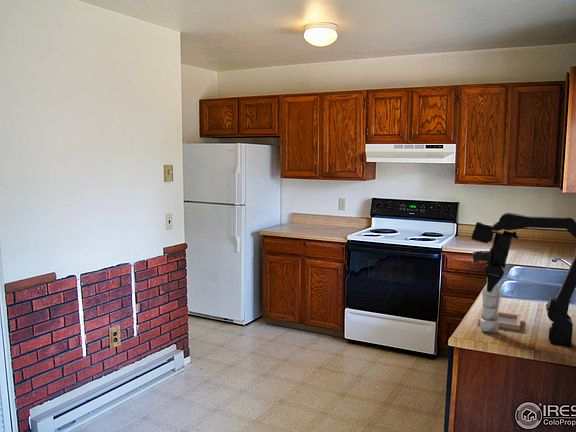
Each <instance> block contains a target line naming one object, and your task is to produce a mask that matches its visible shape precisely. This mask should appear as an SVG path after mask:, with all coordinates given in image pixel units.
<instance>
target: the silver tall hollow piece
mask: <svg viewBox="0 0 576 432" xmlns="http://www.w3.org/2000/svg"><path fill="white" fill-rule="evenodd" d="M498 284H499V282H498V283H497V284H496V285H495V287H494V288H493V289H492V290H491V291H490V292H488V291H487V284H486V285H485V286H484V287H483V288H482V290H481V291H482V292H481V294H482V309H483V310H482V316H481V320H480V325H479V328H480V330H481V331H482V332H484V333H491V334H493V333H494V334H495V333H497V332H498V331H499V328H498V327H499V322H498V312H499V307H500V300H501V296H502V290H501V289H500V287H499V285H498Z"/></svg>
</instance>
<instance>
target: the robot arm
mask: <svg viewBox="0 0 576 432" xmlns="http://www.w3.org/2000/svg"><path fill="white" fill-rule="evenodd" d="M529 228H531V229H532V228H533V229H534V228H535V229H557V230H567V232H569V233H570V235H572V236H573V237H574V238H575V239H576V221H575V219H574V217H573V218H572V217H571V216H565V217H563V216H562V217H559V216H557V217H556V216H555V217H554V216H530V215H529V216H528V215H523V214H518V213H513V212H505V213H503V214H502V215H501V216H500V218H499V219H498V221H496V222H495V223H494V224H493V225H489V224H485V223H482V222H479V221H477V222H476V223H475V227H474V229H473V231H472V234H471V241H474V242H479V243H482V244H486V245H487V244H488V243H491V242H492V241H493V242H492V246H491V247H490V249H489V250H480V251H479V250H476V251H473V252H472V261H473V262H474V263H477V262H486V264H485V265H484V269H483V273H484V275H486V276H485V277H487V278H486V283H487V284H486V285H487V291H488V292H490V291H491V290H492V289H493V288H494V287H495V285H496V284H497V283H498V284H499V282H500V281H501V280H502V279H503V277H504V273H505V269H506V265H507V259H508V256H509V252H510V248H511V245H512V243H513V242H512V241H513V239H516V240H519V238H520V236H519V234H518V233H517V231H516V230H521V229H529ZM502 230H503V232H502ZM493 237H494V239H493ZM498 284H497V285H498ZM575 289H576V249H575V251H574V256H573V259H572V261H571V264H570V265H569V268H568V270H567V272H566V275H565V277H564V278H563V281H562V283H561V286H560V288H559V290H558V292H557V294H556V295H555V296H553V295H550V296H549V299H548V301H547V303H546V304H545V310H546V313H547V317H548V319H549V320H550V322H551V325H550V326H549V329H548V337H547V338H548V341H549V343H550V344H551V345H555V346H560V347H561V346H562V347H567V348H572V347H573V344H572V341H573V330H574V329H573V328H574V327H573V326H574V324H573V320H572V317H571V315H569V309H570V303H571V302H570V301H571V297H572V295H573V294H574V292H575Z"/></svg>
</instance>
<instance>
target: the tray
mask: <svg viewBox="0 0 576 432" xmlns="http://www.w3.org/2000/svg"><path fill="white" fill-rule="evenodd" d="M482 310H483V308H482V309H480V312H479V315H478V319H477V326H480V320H481V316H482ZM498 322H499V327H498V330H499V329H500V330H506V331H514V332H520V331H521V314H518V313H510V312H505V311H498Z"/></svg>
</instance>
